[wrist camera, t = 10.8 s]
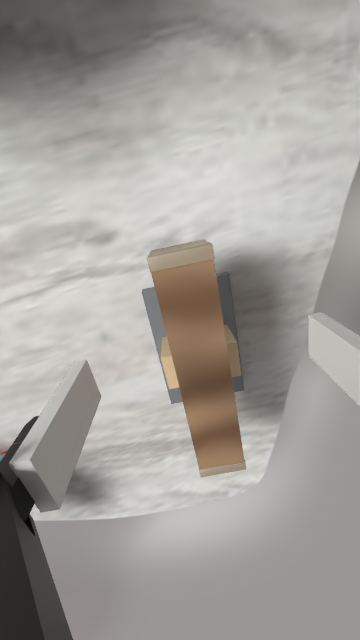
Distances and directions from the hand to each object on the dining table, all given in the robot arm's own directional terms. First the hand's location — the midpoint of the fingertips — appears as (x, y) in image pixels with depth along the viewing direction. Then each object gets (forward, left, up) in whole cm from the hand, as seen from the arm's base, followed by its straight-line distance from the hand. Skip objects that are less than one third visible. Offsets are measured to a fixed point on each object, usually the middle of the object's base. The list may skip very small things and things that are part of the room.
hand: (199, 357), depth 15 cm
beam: (+5, 0, -10) cm, 11 cm away
